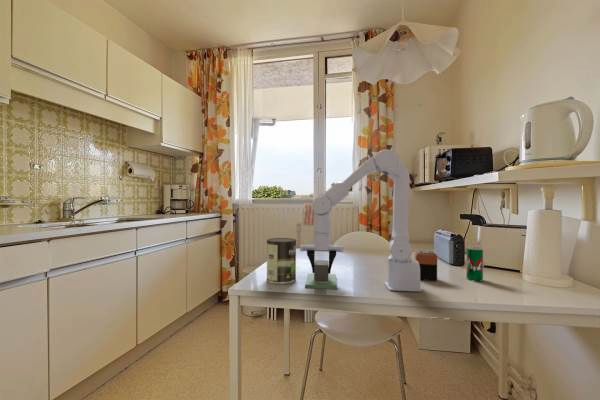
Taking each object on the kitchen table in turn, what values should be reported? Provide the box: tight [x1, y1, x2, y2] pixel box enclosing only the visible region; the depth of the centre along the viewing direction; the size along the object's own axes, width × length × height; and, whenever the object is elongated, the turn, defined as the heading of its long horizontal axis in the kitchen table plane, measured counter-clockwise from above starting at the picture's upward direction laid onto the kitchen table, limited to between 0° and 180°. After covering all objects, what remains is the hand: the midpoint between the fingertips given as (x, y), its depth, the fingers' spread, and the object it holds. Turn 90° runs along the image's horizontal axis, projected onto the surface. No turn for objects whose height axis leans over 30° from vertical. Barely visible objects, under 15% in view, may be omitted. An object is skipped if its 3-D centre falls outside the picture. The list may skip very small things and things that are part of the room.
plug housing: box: [313, 259, 329, 281], centre depth 97 cm, size 5×8×5 cm, turn 174°
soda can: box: [465, 244, 484, 282], centre depth 102 cm, size 5×5×12 cm
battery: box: [414, 250, 438, 282], centre depth 102 cm, size 4×7×10 cm, turn 74°
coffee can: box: [266, 237, 297, 285], centre depth 100 cm, size 10×10×14 cm
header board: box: [304, 273, 338, 290], centre depth 97 cm, size 10×14×4 cm
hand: (321, 272), depth 97 cm, fingers closed on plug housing, 5 cm apart
